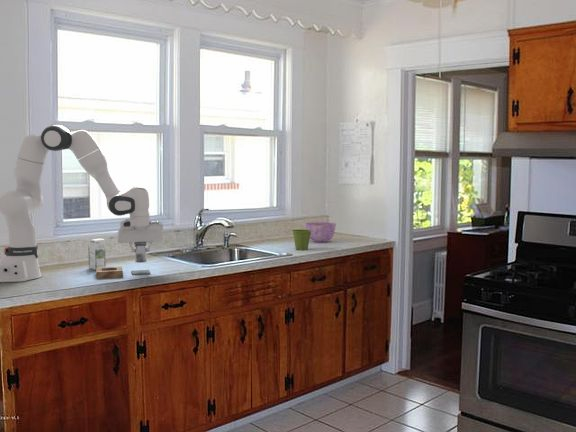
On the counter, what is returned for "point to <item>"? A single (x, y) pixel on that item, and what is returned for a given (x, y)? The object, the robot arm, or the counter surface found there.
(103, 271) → the brown flat square block
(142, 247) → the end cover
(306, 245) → the plant pot
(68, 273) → the counter surface
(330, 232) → the purple rounded bowl
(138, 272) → the mat
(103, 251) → the syrup box
